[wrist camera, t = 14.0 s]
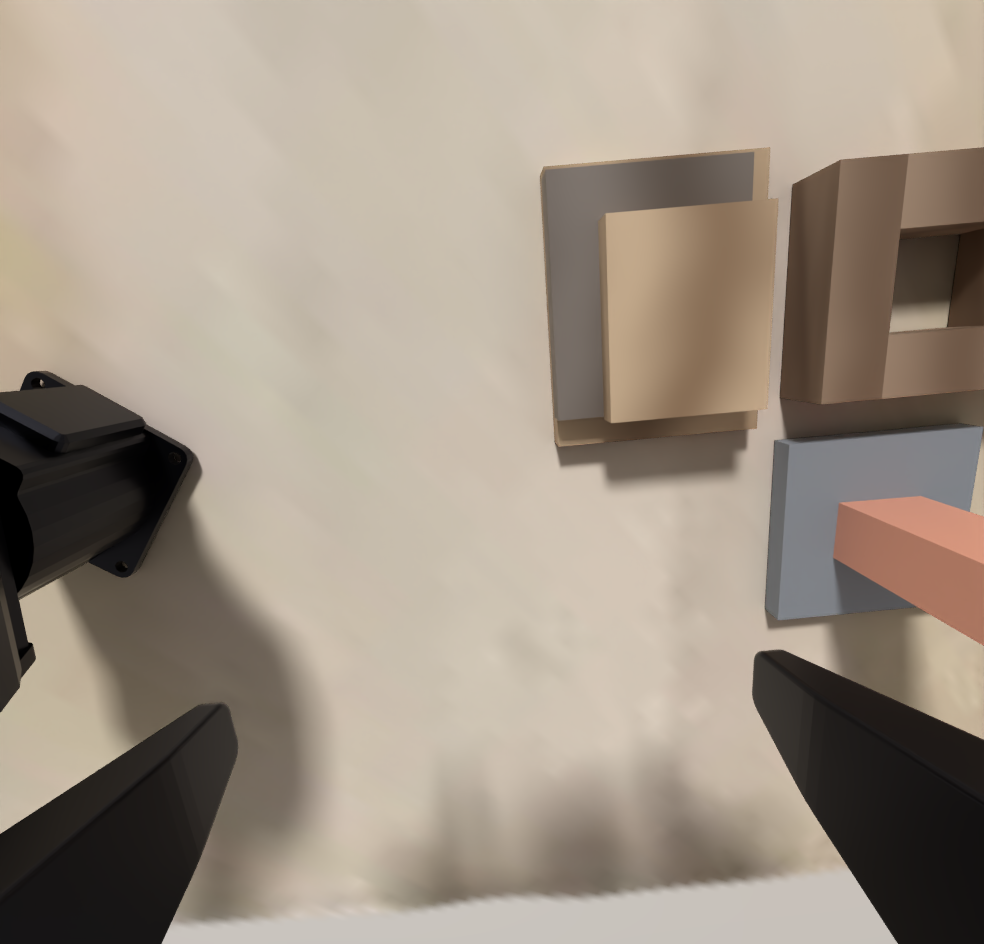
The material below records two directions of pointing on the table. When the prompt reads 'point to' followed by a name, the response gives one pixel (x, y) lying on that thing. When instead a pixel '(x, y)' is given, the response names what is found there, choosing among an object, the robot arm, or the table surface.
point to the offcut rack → (747, 288)
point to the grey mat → (846, 478)
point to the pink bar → (919, 555)
